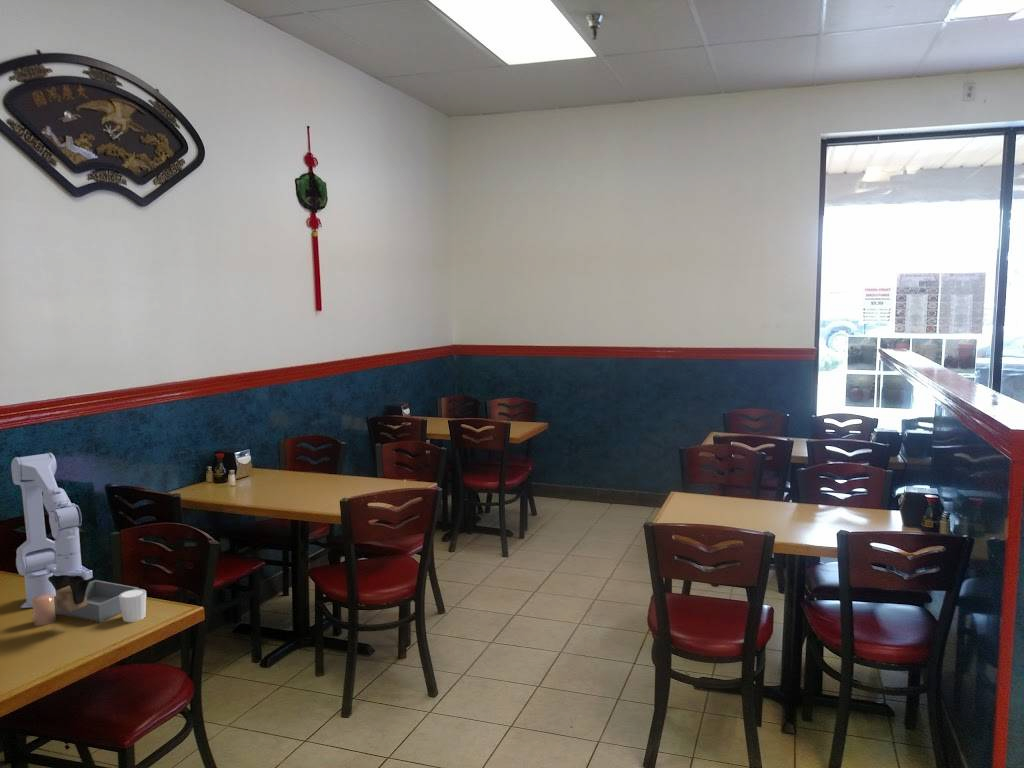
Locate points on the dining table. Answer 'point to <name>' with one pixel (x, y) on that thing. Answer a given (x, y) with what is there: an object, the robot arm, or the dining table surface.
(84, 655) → the dining table surface
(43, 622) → the terracotta cylinder
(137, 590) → the white cylinder
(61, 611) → the tote
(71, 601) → the walnut cube
